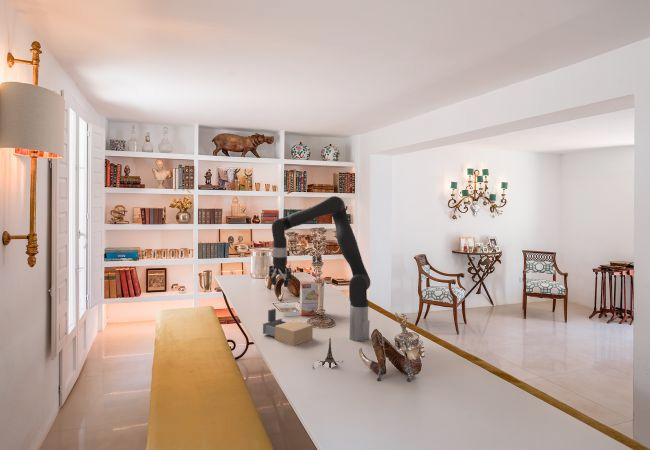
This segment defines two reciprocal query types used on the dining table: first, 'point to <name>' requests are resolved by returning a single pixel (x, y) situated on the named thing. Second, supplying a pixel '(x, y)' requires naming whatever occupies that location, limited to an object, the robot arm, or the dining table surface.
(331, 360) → the eiffel tower figurine
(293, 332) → the mailer sleeve
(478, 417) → the dining table surface
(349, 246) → the robot arm
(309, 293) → the cracker box
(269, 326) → the tray
